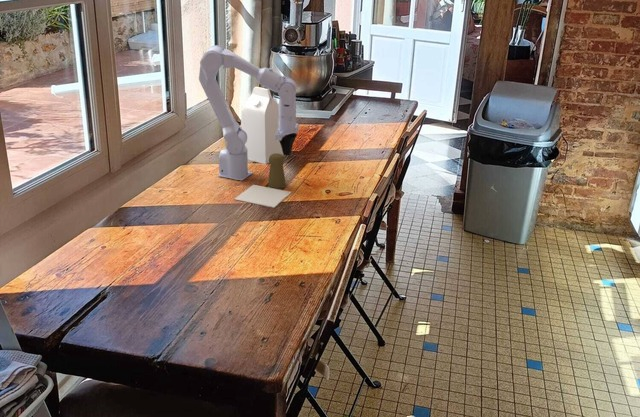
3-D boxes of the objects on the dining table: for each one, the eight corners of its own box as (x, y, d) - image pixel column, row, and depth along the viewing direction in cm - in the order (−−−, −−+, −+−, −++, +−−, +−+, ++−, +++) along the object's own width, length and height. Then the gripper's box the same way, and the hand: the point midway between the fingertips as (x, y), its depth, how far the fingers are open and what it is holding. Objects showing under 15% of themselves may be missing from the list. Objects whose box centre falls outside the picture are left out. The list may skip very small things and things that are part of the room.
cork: (283, 189, 204) (283, 158, 199) (265, 187, 205) (265, 156, 200) (287, 183, 209) (287, 152, 205) (270, 181, 210) (270, 150, 206)
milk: (284, 155, 234) (284, 87, 223) (265, 164, 225) (265, 94, 214) (258, 149, 240) (258, 82, 229) (239, 157, 231) (238, 88, 220)
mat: (234, 199, 196) (234, 198, 195) (253, 185, 207) (253, 184, 206) (274, 207, 191) (274, 207, 191) (291, 192, 202) (291, 191, 202)
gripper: (289, 123, 197) (288, 163, 203) (306, 112, 210) (305, 149, 215) (269, 120, 200) (269, 159, 205) (287, 109, 212) (287, 146, 218)
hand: (286, 154), depth 210 cm, fingers closed
